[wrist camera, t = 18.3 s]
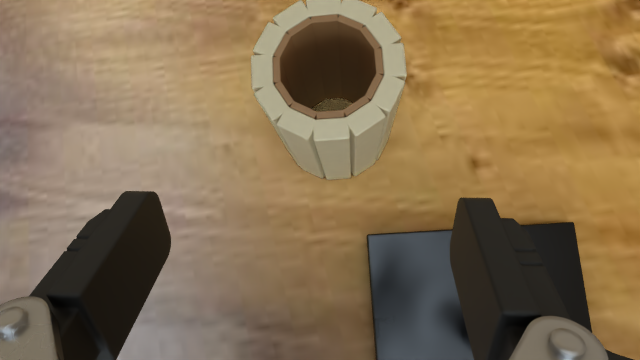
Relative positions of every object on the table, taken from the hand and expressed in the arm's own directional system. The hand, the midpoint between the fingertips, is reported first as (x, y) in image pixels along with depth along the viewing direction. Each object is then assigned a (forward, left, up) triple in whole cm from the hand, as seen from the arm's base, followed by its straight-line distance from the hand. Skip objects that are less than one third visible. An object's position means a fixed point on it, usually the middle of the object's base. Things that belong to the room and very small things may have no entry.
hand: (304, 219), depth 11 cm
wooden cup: (+1, +7, -13) cm, 15 cm away
